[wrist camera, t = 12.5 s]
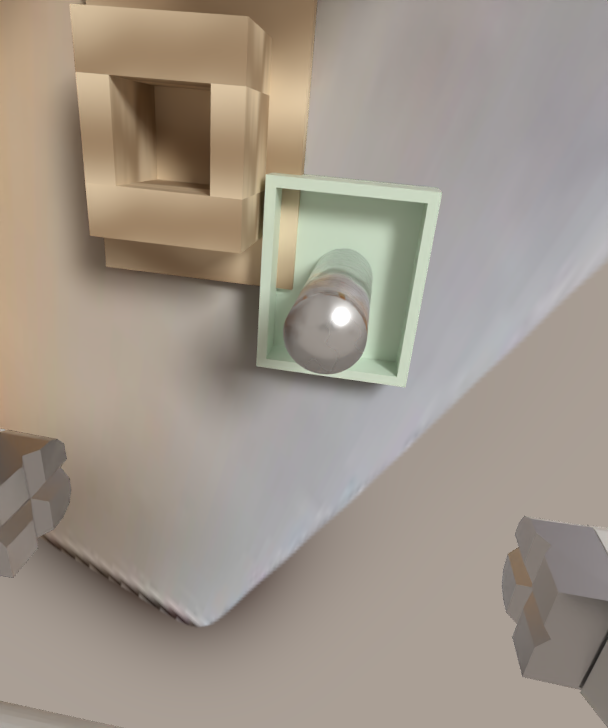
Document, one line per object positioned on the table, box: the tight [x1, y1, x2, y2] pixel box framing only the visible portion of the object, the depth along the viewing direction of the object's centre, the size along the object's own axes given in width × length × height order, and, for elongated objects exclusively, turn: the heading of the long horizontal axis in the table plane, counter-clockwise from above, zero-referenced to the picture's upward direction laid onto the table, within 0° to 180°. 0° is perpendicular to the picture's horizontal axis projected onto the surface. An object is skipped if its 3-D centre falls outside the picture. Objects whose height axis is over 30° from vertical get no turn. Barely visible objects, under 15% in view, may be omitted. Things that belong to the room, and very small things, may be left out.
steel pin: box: [283, 248, 373, 374], centre depth 26 cm, size 4×4×10 cm
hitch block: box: [69, 0, 317, 290], centre depth 26 cm, size 16×12×6 cm
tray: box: [256, 173, 442, 387], centre depth 30 cm, size 11×9×3 cm
